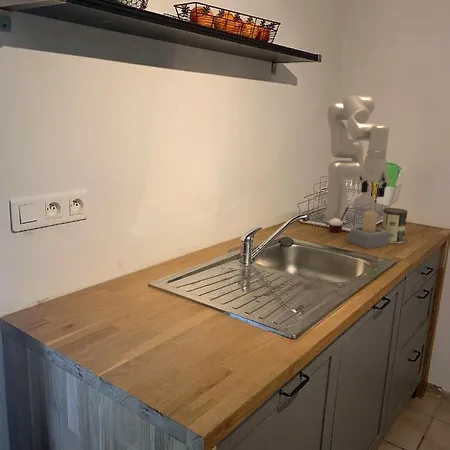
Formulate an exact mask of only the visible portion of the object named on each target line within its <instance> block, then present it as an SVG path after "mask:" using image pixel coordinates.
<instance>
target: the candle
mask: <svg viewBox="0 0 450 450" xmlns="http://www.w3.org/2000/svg"><path fill="white" fill-rule="evenodd" d="M377 219H378V213H377V212H376V211H375V210H374V209H369V210H368V209H367V210H366V211H365V212H364V213H363V220H362V221H363V222H362V227H363V229H362V231H363V232H366V233H375V230H376V228H377V221H378V220H377Z"/></svg>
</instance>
